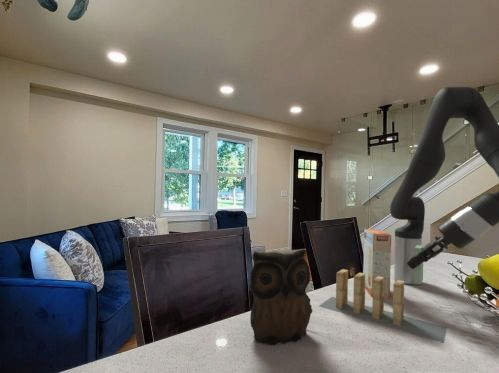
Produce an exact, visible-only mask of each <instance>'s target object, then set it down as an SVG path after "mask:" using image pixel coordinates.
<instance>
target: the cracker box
mask: <svg viewBox="0 0 499 373" xmlns="http://www.w3.org/2000/svg"><path fill="white" fill-rule="evenodd" d="M363 231H364V232H363V233H364V234H363V268H362V269H363V270H362V273H365V291H367V292H368V294H369V296H370V297H371V298H373V280H374V279H375V278H376V277H377V276H380V277H384V300H385V299H386V300H390V298H391V266H392V264H391V262H392V261H391V260H392V259H391V258H392V256H391V254H392V234H390V233H388V232H385V231H383V230H381V229H374V228H372V229H371V228H370V229H369V228H368V229H367V228H365V229H364V230H363Z"/></svg>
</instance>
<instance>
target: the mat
mask: <svg viewBox="0 0 499 373" xmlns="http://www.w3.org/2000/svg"><path fill="white" fill-rule="evenodd" d="M353 302H354V301H350V300H348V302H347V305H345V306H344V307H343V308H342V309H340V308H336V296H331V297H329V298H328V299H327V300H325V301H323V302H322V303H320V305H319V304H318V307H321V308H324V309H327V310H331V311H334V312H338V313H341V314H344V315H348V316H350V317H354V318H358V319H360V320H364V321H368V322H370V323H375V324H378V325H381V326H385V327H388V328H392V329H395V330H399V331H401V332H406V333H408V334H412V335H415V336H418V337H422V338H425V339H429V340H432V341H436V342H439V343H444V342H445V337H446V334H447V328H448V327H447V326H444V325H442V324H438V323H437V324H436V323H434V322H430V321H425V320H422V319H418V318H415V317H410V316H406V315H404V320H403V321H402V323H401V325H400V326H399V325H396V324H393V311H392V312H391V311H388V310H384V314H383V315H382V316H381V317H380V319H379V320H378V319H375V318H372V306H370V305H369V306H368V305H365V309H364V310H363V311H362V312H361V313H360V314H357V313H354V312H353Z"/></svg>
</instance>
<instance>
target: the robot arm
mask: <svg viewBox="0 0 499 373" xmlns="http://www.w3.org/2000/svg"><path fill="white" fill-rule="evenodd" d="M486 102H487V101H486V100H485V99H484V96H483V95H482V94H481V93H480V91H479V90H478V89H476V88H475V87H471V86H447V87H443V88H442V89H441V88H440V90H439V91H438V92H437V93H436V95H435V96H434V98H433V101H432V103H431V107H430V109H429V113H428V117H427V120H426V123H425V126H424V130H423V132H422V135H421V136H420V140H419V142H418V144H417V147H416V149H415V151H414V154H413V156H412V158H411V160H410V163H409V166H408V169H407V171H406V173H405V175H404V177H403V180H402V181H401V184H400V185H399V188H398V189H397V191H396V193H394V194H395V195H394V196H393V198H392V200H391V204H390V206H389V209H390V210H389V211H390V214H391V217H392V218H394V219H396V220H405V221H407V222H406V223H405V225H403V226H400V227H398V228H396V229H395V231H394V272H393V273H394V275H393V276H394V281H395V282H396V281H397V280H401V281H404V285H405V284H406V285H412V286H413V285H415V286H416V285H417V286H419V285H420V284H415V283H414V268H415V267H417V266H418V265H420V264H421V263H423V264H424V263H426V262H428V261H429V260H431V259H433V258H434V259H435V258H436V257H437V256H439V255H440V254H442V253H445V252H446V251H448V250H449V245H450V244H451V245H453V246H454V247H456V248H457V249H460V250H461V249H463V248H465V247H466V246H468V245H469V244H471V243H472V242H475V241H476V240H477V239H479V238H480V237H482V236H483V235H485V234H486V233H487V232H488V231H489V230H490V229H492V228H493V227H494V226H496V225H497V224H499V190H498V191H497V192H495V193H490V192H488V193H485V194H483V195H481V196H480V197H478V198H476V199H475V200H474V201H472V202H471V203H469V205H467V206H466V207H464V208H462V209H460V210H459V211H457V212H456V213H454V214H453V215H452V216H450V217H449V218H448V219H446V220H445V221H443V222H442V223H440V225H438V226H437V229H438V231H439V233H441V235H442V236H439V237H438V236H437V235H436V236H435V237H433V238H432V239H431V240H430V242H428V243H427V244H425V245H424V248H423V251H422V252H420V253H418V255H417V256H415V257H414V248H415V247H416V246H417V245H420V246H423V244H422V243H423V242H422V240H423V237H422V236H423V233H424V228H425V213H426V209H425V208H426V206H425V202H424V201H423V199H422V198H421V197H420V196H414V195H415V194H416V192H417V191H419V190H420V189H421V188H423V187H424V186H426V185H427V184H429V182H431V181H432V180H434V178H436V176H437V175H438V174H439V171H440V170H441V168H442V166H443V164H444V162H445V160H446V147H445V144H444V139H443V135H444V131H445V129H446V126H447V124H448V122H449V120H450V119H464V120H465V121H466V122H468V124H470V125H471V126H472V128H473V131H474V132H473V134H474V136H473V137H474V138H473V140H474V146H475V148H476V150H477V151H478V153H479V155H481V157H482V158H483V160H484V161H485V162H486V163H487V164H488V166H489V167H490V168H491V169H492V170H493V171H494V173H495V174H496V176H497V177H498V178H499V123H498V121H497V119H496V118H495V116H494V114H493V113H492V111H491V110H490V108H489V106H488V104H487V103H486Z"/></svg>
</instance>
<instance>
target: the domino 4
mask: <svg viewBox="0 0 499 373" xmlns="http://www.w3.org/2000/svg"><path fill="white" fill-rule="evenodd" d="M392 286H393V288H392V289H393V290H392V294H393V295H392V313H393V324H396V325H399V326H400V325H401V323H402V321H403V320H404V316H405V283H404V281H401V280H397V281H396V280H395V282H394V283H393V285H392Z"/></svg>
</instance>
